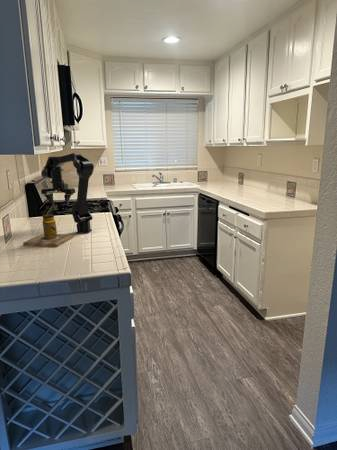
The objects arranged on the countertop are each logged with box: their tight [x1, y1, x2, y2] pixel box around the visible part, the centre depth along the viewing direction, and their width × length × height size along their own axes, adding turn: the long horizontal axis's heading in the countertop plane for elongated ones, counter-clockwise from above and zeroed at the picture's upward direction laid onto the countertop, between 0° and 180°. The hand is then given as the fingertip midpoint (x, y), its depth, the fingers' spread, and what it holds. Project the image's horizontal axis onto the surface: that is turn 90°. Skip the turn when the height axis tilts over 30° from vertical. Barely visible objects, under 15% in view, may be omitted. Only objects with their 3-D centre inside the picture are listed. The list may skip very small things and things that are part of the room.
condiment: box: [39, 213, 59, 241], centre depth 155 cm, size 7×8×12 cm
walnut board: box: [22, 233, 74, 248], centre depth 157 cm, size 18×16×2 cm
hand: (59, 205), depth 181 cm, fingers open, 9 cm apart
